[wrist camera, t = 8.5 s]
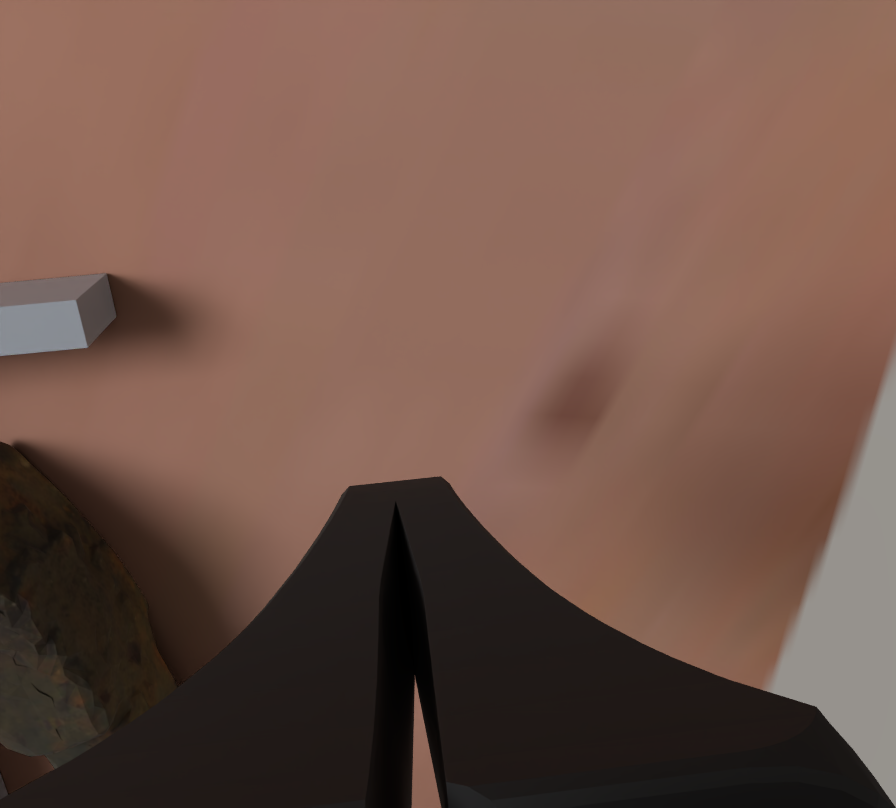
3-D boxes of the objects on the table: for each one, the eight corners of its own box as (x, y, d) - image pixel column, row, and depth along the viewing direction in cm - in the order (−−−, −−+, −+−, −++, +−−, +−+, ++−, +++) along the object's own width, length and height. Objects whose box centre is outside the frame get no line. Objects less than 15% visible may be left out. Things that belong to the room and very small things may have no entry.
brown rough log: (344, 920, 28) (341, 1077, 24) (226, 951, 28) (201, 1113, 24) (119, 403, 21) (55, 494, 16) (-41, 445, 21) (-147, 548, 16)
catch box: (55, 1013, 28) (31, 1089, 26) (-221, 303, 19) (-293, 334, 17) (271, 983, 28) (264, 1055, 26) (106, 273, 19) (76, 300, 17)
